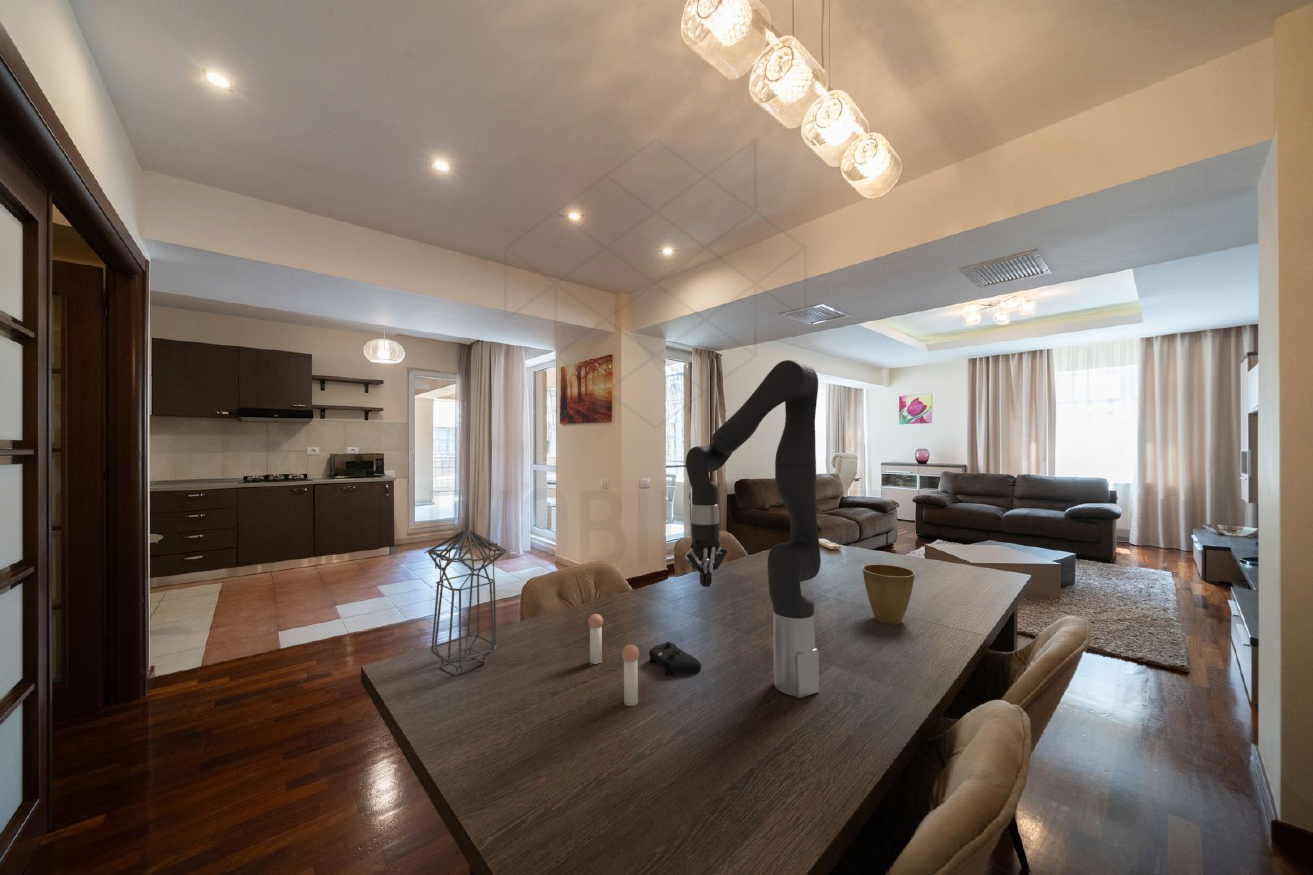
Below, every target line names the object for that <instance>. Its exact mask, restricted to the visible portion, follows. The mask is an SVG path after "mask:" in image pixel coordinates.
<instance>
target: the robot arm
mask: <svg viewBox="0 0 1313 875" xmlns="http://www.w3.org/2000/svg"><path fill="white" fill-rule="evenodd" d="M818 392H819V379H818V374H817V372H816V371H815V369H814V368H813V366H811V365H809V364H808V363H804V362H802V361H801V362H800V361H798V360H793V359H785V360H782V361H780V362H779V363H777V364H776V365H774V367H773V368H772V369H771V370H770V371H769V372H768V373H767V375H766V376H765V377H764V379H763V380H762V382H760V384H759V385H758V386H757V388H756V389H755V390H754V391H753V392H752V394H750V396H749V398H748V399H747V400H746V401H745V402H744V403H743V405H741V407H739V408H738V409H737V411H736V412H735V413H734V414H732V416H731V417H729V418H728V419H727V420H726V421H725V422H724V423H723V424H722V425H721V426H720V427H719V428H718V429H717V430H715V432H714V433H712V436H711V443H710V444H709V445H707V446H693V447H691V448H690V449H689V450H688V452H687V454H686V456H685V467H686V468H685V469H686V472H687V477H688V479H689V484H690V487H691V510H690V537H691V544H690V549H689V550H688V551H687V552H683V557H684V558H685V560H686V561H687V563H688V564H689V566H690V567H691V568H692V570H693V571H696V572H698V573H699V584H700V585H701V587H703V588H710V587H711V584H712V583H713V582H712V576H713V575H712V573H713V571H715V570H719V568H720V566H721V564H722V562H723V560H724V558H725V557H726V555H727V553H728V550H727V549H725V548H723V547H722V546H721V543H720V541H719V539H720V538H721V537H720V508H719V487H718V485H717V484H716V483H715V482H714V481H711V478H710V474H709V473H714V472H716V471H717V470H719V469H721V468H722V467H723V466H724V465H725V464H726V463H727V461H728V460H729V458H730V457H731V456H732V454H733V452H735V451H736V450H737V449H739V448H740V447H741V446H742V445H743V444H744V443H745V442H747V440H749V439H750V438H751V437H752V436H753V435H754V433H755V432H756V430H757V429H758V428H759V425H760V424H761V422H762V421H763V419H764V418H765V417H766V416H768V414H769V413H770V412H771V411H773V410H774V409H775V408H776V407H778V406H780V405H781V404H783V403H784V405H785V406H784V408H785V422H784V428H783V431H782V435H781V437H780V440H779V443H778V444H777V445H778V446H777V449H776V453H775V459H774V470H775V471H774V472H775V473H774V474H775V476H774V478H775V480H774V482H775V487H776V488H775V489H776V491H777V493H778V495H779V498H780V499H781V501H782V503H783V505H784V507H785V509H786V511H787V514H788V517H789V522H790V541H786V542H782V543H781V542H780V543H777V544H775V545H773V546H772V547H771V548H770V550H769V551H768V556H767V577H768V593H769V596H770V600H771V603H772V627H773V630H772V633H773V637H772V638H773V644H772V645H773V685H774V688H775V689H777V691H779V692H781V693H783V694H786V695H788V696H793V697H796V698H797V699H801V698H805V697H809V696H810V695H814V694H816V693H819V692H820V680H819V679H820V674H819V672H820V671H819V670H820V669H819V649H818V648H816V643H815V642H816V640H815V604H814V601H813V599H812V598H810V597H808V596H806V595H804V594H802V590H801V582H806V581H809V580H812V579H814V578H815V577H816V576H817V575H818V574H819V571H820V569H821V559H822V558H821V549H820V548H821V547H820V539H819V531H818V530H819V529H818V520H817V456H816V455H817V454H816V412H817V403H818ZM695 558H696V559H695Z"/></svg>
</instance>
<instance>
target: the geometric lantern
mask: <svg viewBox="0 0 1313 875" xmlns="http://www.w3.org/2000/svg"><path fill="white" fill-rule="evenodd" d="M466 540H468V544H466ZM451 541H452V542H451ZM447 543H449V544H448V545H447V546H446V547H444V548H442V549H438V548H440V547H441V546H444V545H446V544H447ZM465 544H466V545H465ZM474 546H475V547H476V548H477V550H478V552H479V554H480V555H481V558H474V553H473V548H474ZM465 548H468V549H467V550H466V551H465V552H464V553H463V551H464V550H463V549H465ZM494 548H495V549H494ZM486 549H487V550H488V551H489V552H488V553H487V551H486ZM453 550H455V552H454V554H453V556H452V557H451V552H452V551H453ZM491 551H492V553H493V554H491ZM507 552H508V550H507V549H506V548H504V547H502V546H500V545H498V544H496V543H495V542H493V541H491V540H490V539H488V538H486V537H484V536H482V535H481V534H478V533H477V532H475V531H473V530H472V529H465V530H462V531H460V532H458V533H456V534H455V535H453V536H451V537H448V539H445V540H443V541H442V542H440V543H439V544H437V545H435V546H433V547H432V548H430V549H428V550H425V551H424V554H428V555H429V557H430V558H431V560H432V561H433V562H434V567H435V568H434V569H435V570H437V569H438V570H439V580H437V581H436V582H435V584H436V593H435V604H434V615H433V616H434V617H433V625H432V636H431V637H432V638H431V648H430V651H431V653H433V654H434V655H435V656H436V657H437V658H438V659H440V662H441V664H440V667H441V666H442V665H443V663H444V662H445V663H444V664H446V663H448V664H447V665H450V666H452V667H454V668H455V673H456V672H458V669H460V673H461V672H463V667H466V666H468V665H470V664H474V663H475V662H479V661H478V660H482V661H483V662H482V664H483V663H484V662H485V663H486V658H487V657H488V656H489V655H490V654H491V653H493V652H495V651H496V649H497V645H498V644H497V643H498V642H497V640H498V639H497V638H498V637H497V610H496V608H497V606H496V605H497V604H496V581H495V580H496V579H495V562H496V561H497V560H498V559H500V558H501V557H502V556H503V555H505V554H506V553H507ZM443 553H444V554H443ZM468 553H470V554H469V555H470V557H467V558H466V557H465V556H466V555H467V554H468ZM462 554H463V555H462ZM447 555H448V556H447ZM457 555H458V557H456V556H457ZM434 556H435V557H434ZM464 557H465V558H464ZM437 558H438V561H437ZM441 561H445V562H446V563H445V565H444V566H443V567H442V562H441ZM466 561H467V562H468V561H471V565H470V564H468V563H467V562H466ZM479 561H480V562H481V561H482V565H481V566H480V567H478V568H475V563H474V562H479ZM488 561H489V562H488ZM459 562H460V563H461V564H463V565H464V566H465V567H467V568H468V569H469V570H470V571H471V572H469V573H467V574H462V575H457V576H453V577H449V578H448V575H447V573H446V571H447V569H448V567H449V566H450V565H451V564H452V563H459ZM487 562H488V563H487ZM491 564H492V575H493V576H492V578H490V576H489V573H488V571H487V567H488V566H490V565H491ZM482 570H483V571H484V574H485V575H481V574H480V573H481V571H482ZM475 572H477V573H475ZM466 576H467V577H466ZM463 577H466V579H465V580H464V582H463V583H462V585H461V586H460V587H459V588H456V587H455V588H454V587H453V585H452V583H451V582H450V580H453V579H458V578H463ZM474 577H476V585H473V584H474V583H473V582H474ZM480 577H481V578H483V579H487V581H488V582H486V583H482V584H480ZM469 579H470V586H469V587H464V588H463V586H464V585H465V584H466V582H467V581H468V580H469ZM444 581H446V582H447V583H448V584H447V585H449V586H446V585H444ZM488 585H489V597H490V598H489V599H490V600H489V601H490V602H489V603H490V623H491V640H492V641H491V640H490V639H488V638H485V637H484V636H482V635H480V587H482V586H488ZM444 588H445V589H447V590H450V591H452V592H451V602H450V603H451V605H450V616H449V618H450V619H449V631H448V632H449V633H448V634H449V635H448V640H447V641H445V642H442V643H438V638H439V626H440V619H441V618H440V617H441V609H442V607H441V606H442V599H443V598H442V597H443V591H444ZM474 588H476V597H477V598H476V613H477V615H476V616H477V623H476V624H477V628H476V629H477V633H476V634H470V630H471V629H470V627H471V616H472V612H471V611H472V598H473V589H474ZM465 590H466V591H467V590H469V602H468V604H469V606H468V617H467V618H468V619H467V634H466V635H462V591H465ZM439 592H440V593H439ZM455 592H458V637H457V638H453V639H452V634H453V620H454V619H453V618H454V605H455V604H454V603H455V602H454V601H455ZM472 636H475V637H474V638H475V639H474V640H473V641H472V644H471V645H470V646H469V647H468V643H469V642H468V639H469V637H470V638H472ZM465 638H466V639H465ZM478 638H479V639H481V640H483V641H484V642H486V643H488V644H491V645H492V647H490V648H489V650H486V651H483V652H480V651H477V650H475V649H473V648H472V647H473V646H474V644H475V642H476V641H477V639H478ZM462 639H465V648H463V649H462ZM457 641H458V651H456V652H453V653H451V651H452V649H451V648H452V643H453V642H457ZM446 644H448V646H447V648H448V650H447V655H442V654H441V652H440V651H439V649H438V648H437V647H441V646H444V645H446ZM467 651H468V656H469V655H470V657H465V658H461V657H462V652H464V656H465V655H466V656H467ZM471 652H473V653H476V654H474V655H471ZM457 654H458V658H459V660H456V659H453V660H451V657H452V656H453V655H457ZM480 656H482V657H480ZM474 657H475V658H477V657H479V658H478V659H477V660H476V659H474ZM471 659H474V660H472V661H469V662H466V663H464V664H462V662H465V661H468V660H471ZM455 663H459V666H457V665H455ZM458 673H459V672H458Z"/></svg>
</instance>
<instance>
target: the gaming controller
mask: <svg viewBox="0 0 1313 875" xmlns="http://www.w3.org/2000/svg"><path fill="white" fill-rule="evenodd" d="M648 655H649V660H648V663H649V664H650V663H653V664H654V663H655V664H657V663H658V664H659V665H660V666H661V667H663V676H665V677H669V676H671V677H672V676H673V675H674V674H676V673H687V674H696V673H699V672H700V671H701V669H702V664H701V662H700V661H699V660H698V659H697V658H696V657H695V656H692V655H691V654H690V653H687V652H685V651H683V650H682V649H680V648H679V647H677V645H676V644H675V643H674V642H671V641H666V642H664V643H661V644H660V643H659V644H658V645H655V646H654V647H651V648H650V650H649V651H648Z"/></svg>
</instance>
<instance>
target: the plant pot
mask: <svg viewBox="0 0 1313 875" xmlns="http://www.w3.org/2000/svg"><path fill="white" fill-rule="evenodd" d="M862 573H863V574H862V575H863V580H864V585H865V591H866V594H867V598H868V601H869V604H870V608H871V610H872V612H873V613H872V614H873V615H874V616H873V617H874V618H875V620H876V621H878V622H880V623H883V624H886V625H900V624H901V623H902V621H903V619H904V617H905V614H906V612H907V610H908V606H909V602H910V598H911V596H912V591H913V585H914V580H915V575H916V574H915V572H914V571H913V569H911V568H910V569H909V568H906V567H903V566H899V565H898V566H897V565H892V564H891V565H890V564H880V563H879V564H878V563H876V564H875V563H874V564H872V563H871V564H866V565H863V567H862Z"/></svg>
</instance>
